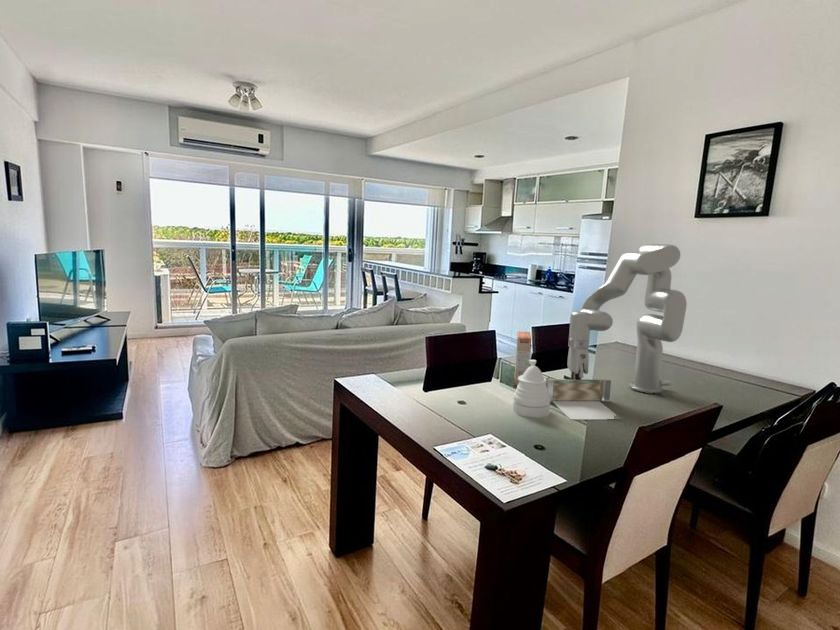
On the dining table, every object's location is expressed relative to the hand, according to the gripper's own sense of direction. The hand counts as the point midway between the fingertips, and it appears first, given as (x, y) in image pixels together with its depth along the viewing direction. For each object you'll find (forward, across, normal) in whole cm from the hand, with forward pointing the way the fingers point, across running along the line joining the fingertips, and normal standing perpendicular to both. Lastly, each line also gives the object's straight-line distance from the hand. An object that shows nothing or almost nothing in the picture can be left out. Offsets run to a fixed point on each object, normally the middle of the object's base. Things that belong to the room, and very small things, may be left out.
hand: (575, 388), depth 179 cm
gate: (+2, -5, +1) cm, 5 cm away
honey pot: (+3, -15, +22) cm, 27 cm away
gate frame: (+3, -5, +1) cm, 6 cm away
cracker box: (+3, +19, +16) cm, 25 cm away
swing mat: (+3, -15, +2) cm, 16 cm away
